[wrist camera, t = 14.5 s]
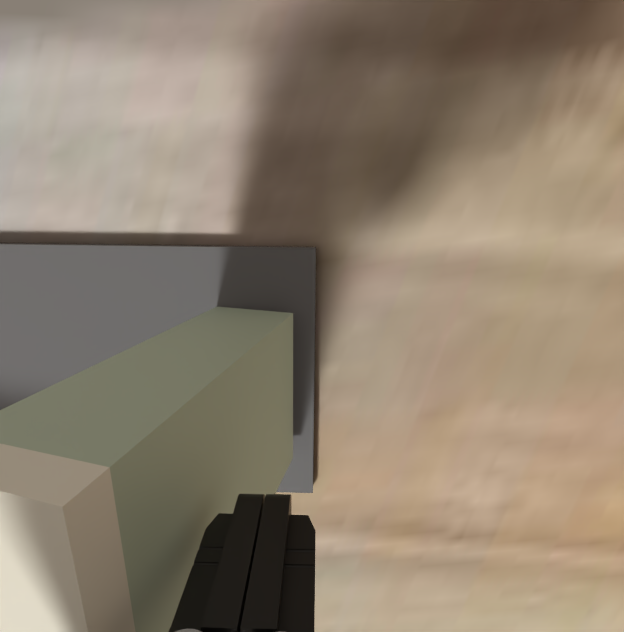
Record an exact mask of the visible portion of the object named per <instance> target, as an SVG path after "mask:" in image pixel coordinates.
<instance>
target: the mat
mask: <svg viewBox="0 0 624 632" xmlns="http://www.w3.org/2000/svg"><path fill="white" fill-rule="evenodd" d="M315 288H316V247H269V246H189V245H109V244H29V243H0V410H2V409H4V408H6V407H8V406H10V405H12V404H14V403H16V402H19V401H21V400H23V399H25V398H27V397H29V396H31V395H33V394H35V393H37V392H39V391H42V390H44V389H46V388H48V387H50V386H52V385H54V384H56V383H58V382H60V381H62V380H64V379H67V378H69V377H71V376H73V375H75V374H77V373H79V372H81V371H83V370H85V369H87V368H90V367H92V366H94V365H96V364H98V363H100V362H102V361H104V360H106V359H108V358H110V357H112V356H115V355H117V354H119V353H121V352H123V351H125V350H127V349H129V348H131V347H133V346H135V345H138V344H140V343H142V342H144V341H146V340H148V339H150V338H152V337H154V336H156V335H158V334H160V333H163V332H165V331H167V330H169V329H171V328H173V327H175V326H177V325H179V324H181V323H183V322H186V321H188V320H190V319H192V318H194V317H196V316H198V315H200V314H202V313H204V312H206V311H208V310H211V309H213V308H215V307H228V308H240V309H252V310H263V311H275V312H287V313H293V459H292V461H291V463H290V465H289V467H288V469H287V471H286V473H285V475H284V477H283V479H282V481H281V483H280V485H279V487H278V489H277V491H276V492H296V493H313V444H314V366H315Z"/></svg>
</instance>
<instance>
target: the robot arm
mask: <svg viewBox="0 0 624 632" xmlns="http://www.w3.org/2000/svg"><path fill="white" fill-rule="evenodd" d="M314 602H315V529H314V527H313V525H312V523H311V521H310V518H309V516H308V515H291V495H283V494H266V496H265V494H239V495H238V498H237V501H236V505H235V508H234V512H233V514H227V513H218V515H217V516H216V517H215V518H214V519H213V521H212V522H211V523H210V524H209V525H208V526H207V528H206V529H205V532H204V535H203V538H202V540H201V543H200V546H199V550H198V552H197V554H196V557H195V560H194V565H193V566H192V568H191V571H190V574H189V577H188V580H187V582H186V585H185V588H184V591H183V594H182V596H181V599H180V602H179V605H178V608H177V611H176V613H175V616H174V619H173V622H172V625H171V627H170V629H169V632H314Z"/></svg>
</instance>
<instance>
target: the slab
mask: <svg viewBox="0 0 624 632" xmlns="http://www.w3.org/2000/svg"><path fill="white" fill-rule="evenodd" d="M292 459H293V313H287V312H275V311H263V310H252V309H240V308H228V307H215V308H213V309H211V310H208V311H206V312H204V313H202V314H200V315H198V316H196V317H194V318H192V319H190V320H188V321H186V322H183V323H181V324H179V325H177V326H175V327H173V328H171V329H169V330H167V331H165V332H163V333H160V334H158V335H156V336H154V337H152V338H150V339H148V340H146V341H144V342H142V343H140V344H138V345H135V346H133V347H131V348H129V349H127V350H125V351H123V352H121V353H119V354H117V355H115V356H112V357H110V358H108V359H106V360H104V361H102V362H100V363H98V364H96V365H94V366H92V367H90V368H87V369H85V370H83V371H81V372H79V373H77V374H75V375H73V376H71V377H69V378H67V379H64V380H62V381H60V382H58V383H56V384H54V385H52V386H50V387H48V388H46V389H44V390H42V391H39V392H37V393H35V394H33V395H31V396H29V397H27V398H25V399H23V400H21V401H19V402H16V403H14V404H12V405H10V406H8V407H6V408H4V409H2V410H0V632H169V629H170V627H171V625H172V622H173V619H174V616H175V613H176V611H177V608H178V605H179V602H180V599H181V596H182V594H183V591H184V588H185V585H186V582H187V580H188V577H189V574H190V571H191V568H192V566H193V565H194V560H195V557H196V554H197V552H198V550H199V546H200V543H201V540H202V538H203V535H204V532H205V529H206V528H207V526H208V525H209V524H210V523H211V522H212V521H213V519H214V518H215V517H216V516H217V515H218V513H227V514H233V512H234V508H235V505H236V501H237V498H238V495H239V494H265V496H266V494H275V493H276V491H277V489H278V487H279V485H280V483H281V481H282V479H283V477H284V475H285V473H286V471H287V469H288V467H289V465H290V463H291V461H292Z"/></svg>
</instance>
